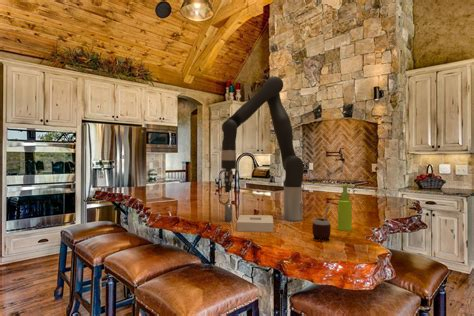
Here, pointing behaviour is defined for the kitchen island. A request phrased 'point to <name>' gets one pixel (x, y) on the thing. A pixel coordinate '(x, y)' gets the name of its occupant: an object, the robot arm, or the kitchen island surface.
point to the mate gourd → (321, 228)
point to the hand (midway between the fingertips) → (228, 191)
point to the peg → (228, 212)
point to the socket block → (255, 223)
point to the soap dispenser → (345, 211)
